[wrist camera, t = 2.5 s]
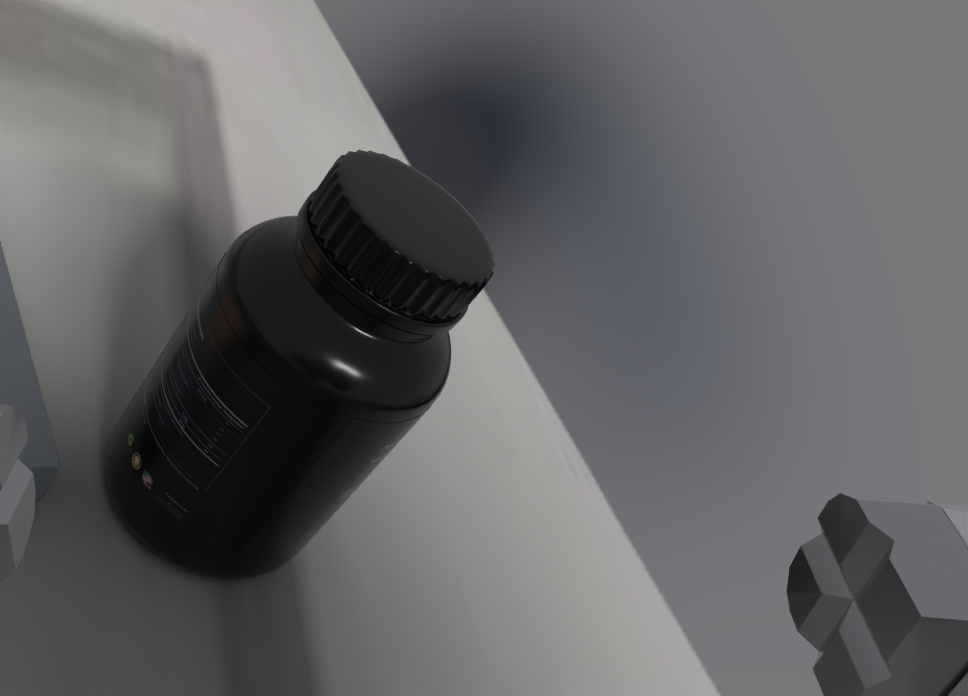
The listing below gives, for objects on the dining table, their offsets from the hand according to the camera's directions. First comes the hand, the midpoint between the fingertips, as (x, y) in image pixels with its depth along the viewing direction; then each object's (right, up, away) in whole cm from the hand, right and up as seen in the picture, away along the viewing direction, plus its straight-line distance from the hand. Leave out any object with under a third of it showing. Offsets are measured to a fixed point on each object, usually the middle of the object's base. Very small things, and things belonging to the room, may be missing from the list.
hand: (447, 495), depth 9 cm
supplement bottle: (-8, -3, +18) cm, 21 cm away
